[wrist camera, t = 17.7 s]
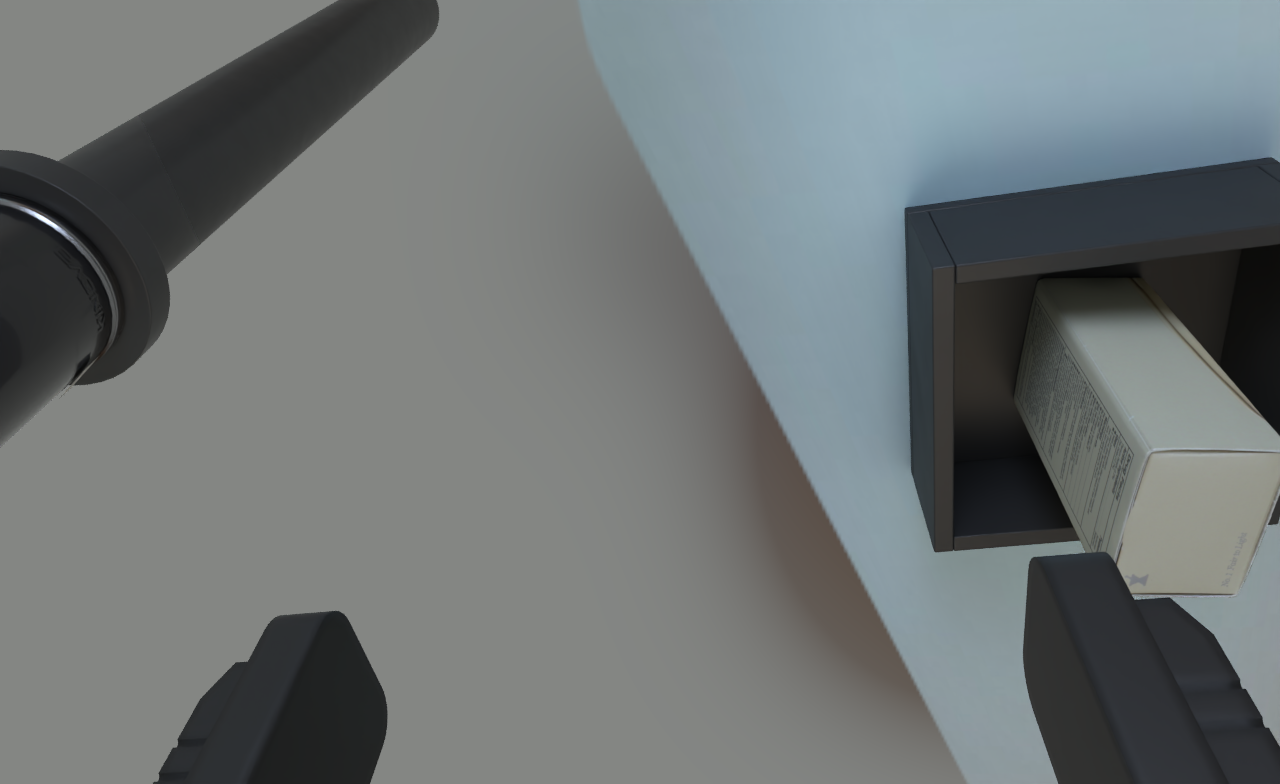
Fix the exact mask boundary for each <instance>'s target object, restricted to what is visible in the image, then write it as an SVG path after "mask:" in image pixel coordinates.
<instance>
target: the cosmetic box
mask: <svg viewBox="0 0 1280 784" xmlns="http://www.w3.org/2000/svg"><path fill="white" fill-rule="evenodd" d="M1014 403H1015V405H1016V407H1017V409H1018V411H1019V413H1020V415H1021V417H1022V419H1023V422H1024V424H1025V426H1026V428H1027V430H1028V432H1029V434H1030V436H1031V438H1032V440H1033V442H1034V445H1035V447H1036V449H1037V451H1038V453H1039V455H1040V457H1041V460H1042V462H1043V464H1044V466H1045V468H1046V470H1047V472H1048V474H1049V476H1050V478H1051V480H1052V482H1053V485H1054V487H1055V489H1056V490H1057V493H1058V495H1059V497H1060V499H1061V501H1062V503H1063V506H1064V508H1065V510H1066V512H1067V514H1068V516H1069V518H1070V521H1071V523H1072V525H1073V527H1074V529H1075V531H1076V533H1077V535H1078V537H1079V539H1080V541H1081V543H1082V546H1083V548H1084V550H1085V552H1086V553H1093V552H1106V553H1108V554H1109V555H1110V556H1111V557H1112V559H1113V560H1114V562H1115V563H1116V565H1117V567H1118V569H1119V571H1120V573H1121V575H1122V577H1123V579H1124V580H1125V582H1126V584H1127V586H1128V588H1129V590H1130V592H1131V594H1132V596H1146V597H1149V596H1152V597H1235V596H1237V595H1238V594H1239V592H1240V590H1241V588H1242V586H1243V584H1244V582H1245V579H1246V577H1247V575H1248V573H1249V571H1250V568H1251V566H1252V563H1253V561H1254V558H1255V556H1256V554H1257V551H1258V548H1259V546H1260V544H1261V541H1262V539H1263V536H1264V534H1265V531H1266V528H1267V525H1268V523H1269V521H1270V519H1271V517H1272V513H1273V510H1274V508H1275V505H1276V502H1277V500H1278V497H1279V495H1280V436H1279V435H1278V433H1277V432H1276V431H1275V430H1274V429H1273V428H1272V427H1271V426H1270V425H1269V423H1268V422H1267V421H1266V420H1265V419H1264V417H1263V416H1262V415H1261V414H1260V413H1259V411H1258V410H1257V409H1256V408H1255V407H1254V406H1253V405H1252V403H1251V402H1250V401H1249V400H1248V399H1247V397H1246V396H1245V395H1244V394H1243V393H1242V392H1241V391H1240V390H1239V388H1238V387H1237V386H1236V385H1235V384H1234V382H1233V381H1232V380H1231V379H1230V378H1229V377H1228V376H1227V374H1226V373H1225V372H1224V371H1223V370H1222V369H1221V367H1220V366H1219V365H1218V364H1217V363H1216V362H1215V361H1214V359H1213V358H1212V357H1211V356H1210V355H1209V354H1208V352H1207V351H1206V350H1205V349H1204V348H1203V347H1202V345H1201V344H1200V343H1199V342H1198V341H1197V340H1196V339H1195V337H1194V336H1193V335H1192V334H1191V333H1190V332H1189V330H1188V329H1187V328H1186V327H1185V326H1184V325H1183V324H1182V322H1181V321H1180V320H1179V319H1178V318H1177V317H1176V315H1175V314H1174V313H1173V312H1172V311H1171V310H1170V308H1169V307H1168V306H1167V305H1166V304H1165V303H1164V302H1163V300H1162V299H1161V298H1160V297H1159V296H1158V295H1157V293H1156V292H1155V291H1154V290H1153V289H1152V288H1151V286H1150V285H1149V284H1148V283H1147V282H1146V281H1145V280H1144V279H1143V278H1043V279H1040V280H1039V281H1038V282H1037V284H1036V288H1035V293H1034V297H1033V302H1032V306H1031V310H1030V315H1029V320H1028V324H1027V329H1026V335H1025V339H1024V344H1023V349H1022V354H1021V359H1020V365H1019V370H1018V375H1017V381H1016V387H1015V393H1014Z"/></svg>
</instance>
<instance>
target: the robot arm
mask: <svg viewBox="0 0 1280 784" xmlns="http://www.w3.org/2000/svg"><path fill="white" fill-rule="evenodd" d="M124 313H125V312H124V301H123V296H122V292H121V288H120V286H119V283H118V280H117V278H116V276H115V274H114V272H113V270H112V268H111V267H110V265H109V263H108V262H107V260H106V259H105V257H104V256H103V254H102V253H101V252H100V251H99V249H98V248H97V247H96V246H95V245H94V243H93V242H92V241H91V240H90V239H89V238H88V237H87V236H86V235H85V234H84V233H83V232H81V231H80V230H79V229H78V228H77V227H76V226H74V225H73V224H72V223H71V222H69V221H68V220H66V219H65V218H64V217H62V216H61V215H59V214H57V213H56V212H54V211H52V210H51V209H49V208H47V207H45V206H43V205H41V204H39V203H36V202H34V201H32V200H29V199H26V198H23V197H20V196H16V195H13V194H8V193H2V192H0V447H1V446H3V445H4V444H5V443H6V442H7V441H8V440H9V439H10V438H11V437H12V436H13V435H14V434H15V433H17V432H18V431H19V430H20V429H21V428H22V427H23V426H24V425H25V424H26V423H27V422H28V421H30V420H31V419H32V418H33V417H34V416H35V415H36V414H37V413H38V412H39V411H40V410H41V409H42V408H44V407H45V406H46V405H47V404H48V403H49V402H50V401H51V400H52V399H53V398H54V397H55V396H56V395H57V394H59V393H60V392H61V391H62V390H63V389H65V388H66V387H67V385H69V384H70V383H71V382H72V381H73V380H74V379H75V378H76V377H77V376H78V375H80V374H81V375H80V376H79V377H78V378H77V379H76V380H75V381H74V382H73V384H72V385H71V386H70V387H69V388H68V389H67V390H66V392H67V391H68V390H69V389H70V388H71V387H72V386H73V385H74V384H75V383H76V382H77V381H78V380H79V379H80V377H81V376H82V375H83V374H84V373H85V372H86V371H87V369H88V368H89V367H90V366H91V365H92V364H94V363H95V362H96V361H98V360H99V359H100V358H101V357H102V356H103V355H104V354H105V353H106V352H107V351H108V350H109V349H110V348H111V347H112V346H113V345H114V344H115V342H116V341H117V339H118V337H119V335H120V333H121V330H122V328H123V323H124ZM66 392H65V393H66ZM65 393H64V394H65ZM64 394H63V395H64ZM1023 661H1024V671H1025V678H1026V684H1027V689H1028V693H1029V698H1030V701H1031V705H1032V708H1033V711H1034V714H1035V717H1036V720H1037V723H1038V726H1039V729H1040V732H1041V735H1042V737H1043V740H1044V743H1045V746H1046V749H1047V752H1048V755H1049V758H1050V761H1051V764H1052V766H1053V769H1054V772H1055V775H1056V778H1057V781H1058V784H1280V746H1279V745H1278V743H1277V741H1276V740H1275V738H1274V736H1273V735H1272V733H1271V731H1270V729H1269V728H1265V726H1264V724H1263V720H1262V719H1263V718H1262V716H1261V714H1260V712H1259V711H1258V709H1257V707H1256V706H1255V704H1254V702H1253V701H1252V699H1251V697H1250V695H1249V694H1248V692H1247V690H1246V689H1242V687H1241V684H1240V678H1239V677H1238V675H1237V673H1236V672H1235V670H1234V668H1233V667H1232V665H1231V663H1230V661H1229V660H1228V658H1227V656H1226V655H1225V653H1224V651H1223V650H1222V648H1221V646H1220V644H1219V643H1218V641H1217V639H1216V638H1215V636H1214V634H1212V633H1211V632H1210V631H1209V630H1208V629H1207V628H1205V627H1204V626H1203V625H1202V624H1201V623H1199V622H1198V621H1197V620H1196V619H1195V618H1193V617H1192V616H1191V615H1190V614H1189V613H1187V612H1186V611H1185V610H1184V609H1183V608H1181V607H1180V606H1179V605H1178V604H1177V603H1175V602H1174V601H1173V600H1172V599H1171V598H1170V597H1169V598H1155V599H1141V600H1134V598H1133V596H1132V594H1131V592H1130V590H1129V588H1128V586H1127V584H1126V582H1125V580H1124V579H1123V577H1122V575H1121V573H1120V571H1119V569H1118V567H1117V565H1116V563H1115V562H1114V560H1113V559H1112V557H1111V556H1110V555H1109V554H1108V553H1106V552H1093V553H1080V554H1068V555H1055V556H1043V557H1033V558H1032V559H1031V561H1030V564H1029V570H1028V584H1027V599H1026V614H1025V629H1024V644H1023ZM386 730H387V704H386V698H385V695H384V691H383V689H382V687H381V685H380V683H379V681H378V679H377V677H376V675H375V673H374V671H373V669H372V667H371V664H370V663H369V661H368V659H367V657H366V655H365V652H364V650H363V648H362V646H361V644H360V642H359V640H358V638H357V636H356V634H355V632H354V630H353V628H352V626H351V624H350V622H349V620H348V619H347V617H346V616H345V615H344V614H343V613H341V612H339V611H330V612H318V613H305V614H293V615H281V616H278V617H275V618H274V619H273V620H272V621H271V622H270V623H269V624H268V626H267V627H266V629H265V630H264V632H263V635H262V636H261V638H260V640H259V642H258V644H257V646H256V647H255V649H254V651H253V653H252V655H251V657H250V659H249V661H248V662H238V663H235V664H234V665H233V666H232V667H231V668H230V669H229V670H228V671H227V672H226V673H225V674H224V675H223V676H222V678H220V679H219V680H218V681H217V682H216V683H215V684H214V686H213V687H212V688H211V689H210V690H209V691H208V692H207V693H206V694H205V695H204V696H203V697H202V698H201V699H200V701H199V703H198V704H197V706H196V708H195V709H194V711H193V713H192V715H191V717H190V719H189V720H188V722H187V724H186V725H185V727H184V729H183V731H182V733H181V735H180V736H179V738H178V746H177V748H173V749H172V750H171V752H170V754H169V756H168V758H167V760H166V761H165V763H164V765H163V767H162V768H161V770H160V772H159V781H158V782H154V783H153V784H370V782H371V779H372V776H373V773H374V770H375V767H376V764H377V761H378V759H379V756H380V753H381V750H382V747H383V743H384V740H385V736H386Z"/></svg>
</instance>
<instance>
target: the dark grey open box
mask: <svg viewBox="0 0 1280 784" xmlns="http://www.w3.org/2000/svg"><path fill="white" fill-rule="evenodd" d="M905 234H906V275H907V315H908V355H909V396H910V436H911V472H912V476H913V478H914V483H915V486H916V490H917V493H918V497H919V500H920V503H921V507H922V510H923V514H924V517H925V521H926V524H927V528H928V531H929V535H930V538H931V542H932V545H933V549H934V551H935V552H945V551H953V550H954V551H958V550H970V549H983V548H995V547H1007V546H1019V545H1031V544H1043V543H1055V542H1068V541H1080V539H1079V537H1078V535H1077V533H1076V531H1075V529H1074V527H1073V525H1072V523H1071V521H1070V518H1069V516H1068V514H1067V512H1066V510H1065V508H1064V506H1063V503H1062V501H1061V499H1060V497H1059V495H1058V493H1057V490H1056V489H1055V487H1054V485H1053V482H1052V480H1051V478H1050V476H1049V474H1048V472H1047V470H1046V468H1045V466H1044V464H1043V462H1042V460H1041V457H1040V455H1039V453H1038V451H1037V449H1036V447H1035V445H1034V442H1033V440H1032V438H1031V436H1030V434H1029V432H1028V430H1027V428H1026V426H1025V424H1024V422H1023V419H1022V417H1021V415H1020V413H1019V411H1018V409H1017V407H1016V405H1015V403H1014V393H1015V387H1016V381H1017V375H1018V370H1019V365H1020V359H1021V354H1022V349H1023V344H1024V339H1025V335H1026V329H1027V324H1028V320H1029V315H1030V310H1031V306H1032V302H1033V297H1034V293H1035V288H1036V284H1037V282H1038V281H1039V280H1040V279H1043V278H1143V279H1144V280H1145V281H1146V282H1147V283H1148V284H1149V285H1150V286H1151V288H1152V289H1153V290H1154V291H1155V292H1156V293H1157V295H1158V296H1159V297H1160V298H1161V299H1162V300H1163V302H1164V303H1165V304H1166V305H1167V306H1168V307H1169V308H1170V310H1171V311H1172V312H1173V313H1174V314H1175V315H1176V317H1177V318H1178V319H1179V320H1180V321H1181V322H1182V324H1183V325H1184V326H1185V327H1186V328H1187V329H1188V330H1189V332H1190V333H1191V334H1192V335H1193V336H1194V337H1195V339H1196V340H1197V341H1198V342H1199V343H1200V344H1201V345H1202V347H1203V348H1204V349H1205V350H1206V351H1207V352H1208V354H1209V355H1210V356H1211V357H1212V358H1213V359H1214V361H1215V362H1216V363H1217V364H1218V365H1219V366H1220V367H1221V369H1222V370H1223V371H1224V372H1225V373H1226V374H1227V376H1228V377H1229V378H1230V379H1231V380H1232V381H1233V382H1234V384H1235V385H1236V386H1237V387H1238V388H1239V390H1240V391H1241V392H1242V393H1243V394H1244V395H1245V396H1246V397H1247V399H1248V400H1249V401H1250V402H1251V403H1252V405H1253V406H1254V407H1255V408H1256V409H1257V410H1258V411H1259V413H1260V414H1261V415H1262V416H1263V417H1264V419H1265V420H1266V421H1267V422H1268V423H1269V425H1270V426H1271V427H1272V428H1273V429H1274V430H1275V431H1276V432H1277V433H1278V435H1279V436H1280V163H1279V162H1278V161H1276V160H1275V159H1273V158H1264V159H1257V160H1250V161H1242V162H1235V163H1228V164H1221V165H1213V166H1206V167H1199V168H1192V169H1184V170H1177V171H1170V172H1163V173H1155V174H1148V175H1141V176H1134V177H1126V178H1119V179H1112V180H1105V181H1097V182H1090V183H1083V184H1076V185H1069V186H1061V187H1054V188H1047V189H1040V190H1032V191H1025V192H1018V193H1011V194H1003V195H996V196H989V197H982V198H974V199H967V200H960V201H953V202H945V203H938V204H931V205H924V206H916V207H909V208H905ZM1279 518H1280V495H1279V497H1278V500H1277V502H1276V505H1275V508H1274V510H1273V513H1272V517H1271V519H1270V521H1269V523H1268V525H1273V524H1278V521H1279Z"/></svg>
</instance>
